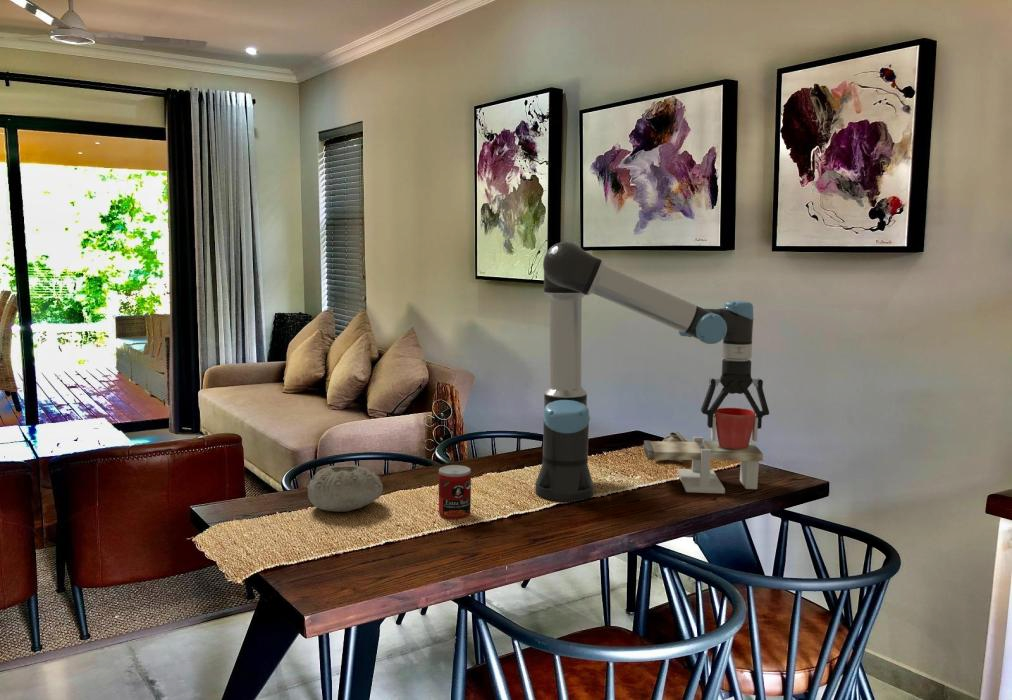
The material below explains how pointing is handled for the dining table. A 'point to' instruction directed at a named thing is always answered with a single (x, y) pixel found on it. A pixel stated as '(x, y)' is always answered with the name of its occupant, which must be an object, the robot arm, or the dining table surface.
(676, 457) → the beam
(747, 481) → the stand
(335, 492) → the decorative shell
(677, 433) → the ceramic sculpture
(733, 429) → the flower pot
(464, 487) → the canned food
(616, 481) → the dining table surface
